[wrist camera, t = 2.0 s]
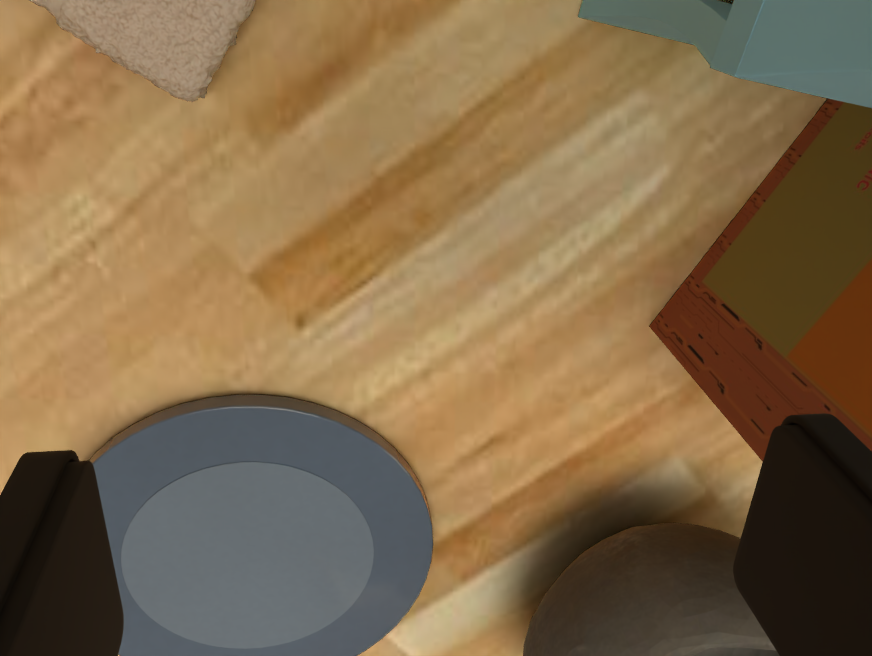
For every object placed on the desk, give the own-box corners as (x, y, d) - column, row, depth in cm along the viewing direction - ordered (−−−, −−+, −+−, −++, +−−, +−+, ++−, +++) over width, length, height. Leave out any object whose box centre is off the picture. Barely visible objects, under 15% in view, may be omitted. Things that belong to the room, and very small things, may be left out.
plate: (68, 675, 41) (63, 692, 40) (45, 382, 33) (38, 396, 32) (405, 668, 45) (407, 684, 44) (456, 403, 37) (461, 415, 36)
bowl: (633, 698, 49) (704, 867, 40) (449, 616, 43) (485, 792, 35) (808, 541, 45) (931, 692, 36) (630, 427, 39) (724, 574, 30)
